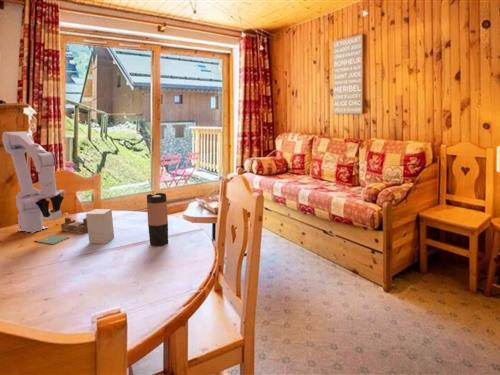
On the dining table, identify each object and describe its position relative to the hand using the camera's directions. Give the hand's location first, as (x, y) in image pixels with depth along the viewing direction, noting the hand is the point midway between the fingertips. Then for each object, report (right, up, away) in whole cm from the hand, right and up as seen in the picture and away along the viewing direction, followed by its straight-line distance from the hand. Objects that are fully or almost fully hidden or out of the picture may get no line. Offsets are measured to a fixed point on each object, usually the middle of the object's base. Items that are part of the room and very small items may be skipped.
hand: (51, 215), depth 141 cm
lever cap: (0, -1, 0) cm, 1 cm away
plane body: (+4, -8, +13) cm, 16 cm away
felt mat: (0, -10, +1) cm, 10 cm away
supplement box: (+21, -11, +1) cm, 23 cm away
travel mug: (+45, -11, -2) cm, 46 cm away
